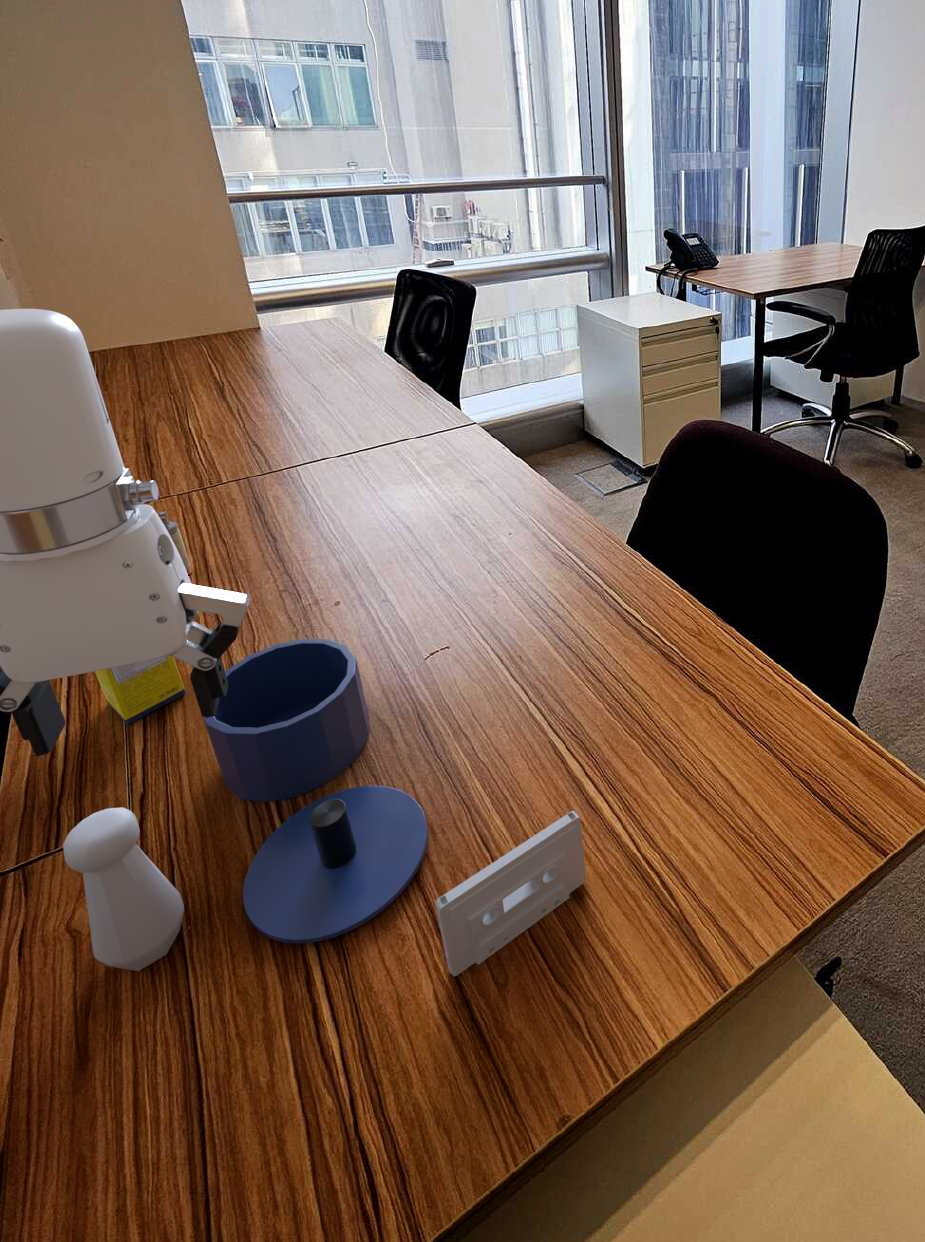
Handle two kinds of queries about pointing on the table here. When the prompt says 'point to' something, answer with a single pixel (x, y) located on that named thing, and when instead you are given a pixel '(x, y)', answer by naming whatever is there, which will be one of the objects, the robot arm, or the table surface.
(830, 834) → the table surface
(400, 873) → the pot lid
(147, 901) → the salt shaker
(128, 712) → the supplement box
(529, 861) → the cassette
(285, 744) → the pot
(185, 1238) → the table surface
